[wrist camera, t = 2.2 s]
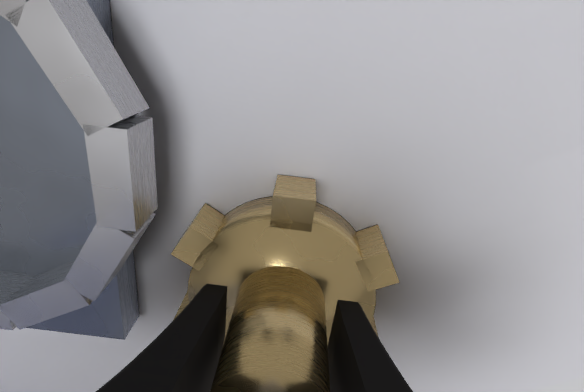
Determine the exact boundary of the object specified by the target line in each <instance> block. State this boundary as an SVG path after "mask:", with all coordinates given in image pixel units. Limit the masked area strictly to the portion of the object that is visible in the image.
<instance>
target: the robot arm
mask: <svg viewBox="0 0 584 392" xmlns="http://www.w3.org/2000/svg"><path fill="white" fill-rule="evenodd" d="M226 305H227V286H222V285H214V284H206V285H204V286H203V287H202V288H201V290H200V291H199V292H198V293H197V294H196V296H195V297H194V298H193V299H192V300H191V302H190V303H189V304H188V305H187V306H186V307H185V308H184V309H183V311H182V312H181V313H180V314H179V315H178V316H177V317H176V318H175V319H174V320H173V321H172V322H171V323H170V324H169V326H168V327H167V328H166V329H165V330H164V331H163V332H162V333H161V334H160V335H159V336H158V337H157V338H156V339H155V340H154V341H153V342H152V343H151V344H150V345H149V346H147V347H146V348H145V349H144V350H143V351H142V352H141V353H140V354H139V355H138V356H137V357H136V358H135V359H134V360H133V361H132V362H130V363H129V364H128V365H127V366H126V367H125V368H124V369H123V370H121V371H120V372H119V373H118V374H117V375H116V376H114V377H113V378H112V379H111V380H110V381H108V382H107V383H106V384H105V385H104V386H102V387H101V388H100V389H99V390H97V391H96V392H210V390H211V387H212V384H213V380H214V376H215V373H216V369H217V366H218V362H219V359H220V355H221V352H222V348H223V344H224V339H225V327H226ZM328 363H329V379H330V392H413V391H412V390H411V388H410V387H409V385H408V384H407V383H406V381H405V380H404V378H403V377H402V375H401V373H400V372H399V370H398V369H397V367H396V366H395V364H394V363H393V361H392V359H391V358H390V356H389V355H388V353H387V351H386V350H385V348H384V346H383V345H382V343H381V341H380V340H379V338H378V336H377V334H376V333H375V331H374V329H373V327H372V326H371V324H370V322H369V320H368V318H367V316H366V314H365V313H364V311H363V309H362V307H361V305H360V304H359V303H358V302H353V301H345V300H338V301H337V305H336V310H335V314H334V319H333V323H332V328H331V333H330V337H329V342H328Z"/></svg>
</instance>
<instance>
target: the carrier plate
mask: <svg viewBox="0 0 584 392" xmlns="http://www.w3.org/2000/svg"><path fill="white" fill-rule="evenodd" d="M147 109H149V106H148V104H147V103H146V101H145V99H144V98H143V96H142V94H141V92H140V91H139V89H138V87H137V86H136V84H135V82H134V80H133V79H132V77H131V75H130V74H129V72H128V70H127V69H126V67H125V65H124V63H123V62H122V60H121V58H120V57H119V55H118V53H117V51H116V50H115V48H114V44H113V34H112V23H111V13H110V2H109V0H0V329H8V330H13V329H14V328H15V327H18V328H19V329H23V328H33V329H41V330H49V331H58V332H66V333H74V334H83V335H91V336H99V337H107V338H116V339H125V338H126V336H127V335H128V333H129V331H130V330H131V328H132V327H133V325H134V323H135V322H136V320H137V318H138V317H139V307H138V297H137V286H136V276H135V265H134V255H133V249H134V247H135V246H136V244H137V243H138V241H139V240H140V238H141V237H142V235H143V233H144V232H145V230H146V229H147V227H148V226H149V224H150V223H151V221H152V220H153V218H154V216H155V215H156V214H155V213H153V212H154V211H155V210H156V209H157V208H158V207H157V189H156V171H155V153H154V135H153V117H147V116H139V115H136V114H138V113H140V112H142V111H145V110H147Z"/></svg>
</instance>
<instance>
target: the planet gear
mask: <svg viewBox="0 0 584 392" xmlns="http://www.w3.org/2000/svg"><path fill="white" fill-rule="evenodd" d="M171 255H173V256H174V257H176V258H178V259H180V260H181V261H183V262H185V263H186V264H188V265H190V266H191V267H192V270H191V272H190V277H189V281H188V291H187V293H186V295H185V297H184V299H183V301H182V303H181V305H180V307H179V309H178V312H177V314H176V316H175V318H176V317H177V316H178V315H179V314H180V313H181V312H182V311H183V309H184V308H185V307H186V306H187V305H188V304H189V303H190V302H191V300H192V299H193V298H194V297H195V296H196V294H197V293H198V292H199V291H200V290H201V288H202V287H203V286H204V285H206V284H214V285H222V286H227V305H226V327H225V339H224V344H223V348H222V352H221V355H220V359H219V362H218V366H217V369H216V373H215V376H214V380H213V384H212V387H211V391H210V392H330V379H329V363H328V342H329V337H330V333H331V328H332V323H333V319H334V314H335V310H336V305H337V301H338V300H345V301H353V302H358V303H359V304H360V305H361V307H362V309H363V311H364V313H365V314H366V316H367V318H368V320H369V322H370V324H371V326H372V327H373V329H374V331H375V333H376V334H377V330H376V325H375V321H374V317H373V314H374V310H375V305H376V291H375V290H376V289H379V288H382V287H386V286H389V285H393V284H396V283H399V279H398V277H397V274H396V271H395V269H394V266H393V263H392V261H391V258H390V255H389V253H388V250H387V247H386V245H385V242H384V239H383V237H382V234H381V231H380V229H379V226H378V225H375V226H372V227H369V228H366V229H363V230H360V231H358V232H356V231H355V230H354V228H353V227H352V226H351V225H350V224H349V223H348V222H347V221H346V220H345V219H344V218H343V217H341V216H340V215H339V214H338V213H336V212H334V211H333V210H331V209H329V208H328V207H326V206H323V205H321V204H319V203H317V202H316V184H315V179H308V178H300V177H292V176H284V175H278V176H277V180H276V185H275V189H274V193H273V197H266V198H260V199H256V200H253V201H250V202H247V203H245V204H243V205H240V206H238V207H236V208H235V209H233V210H232V211H230V212H229V213H227V214H226V215H225V216H224V215H223V214H221V213H220V212H218V211H217V210H215V209H214V208H212V207H210V206H209V205H207V204H206V203H205V204H204V206H203V207H202V209H201V210H200V211H199V213H198V214H197V216H196V217H195V218H194V220H193V221H192V223H191V224H190V225H189V227H188V228H187V230H186V231H185V233H184V235H183V236H182V238H181V239H180V241H179V242H178V244H177V245H176V247H175V248H174V250H173V251H172V253H171ZM175 318H174V319H175ZM377 336H378V334H377Z"/></svg>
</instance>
